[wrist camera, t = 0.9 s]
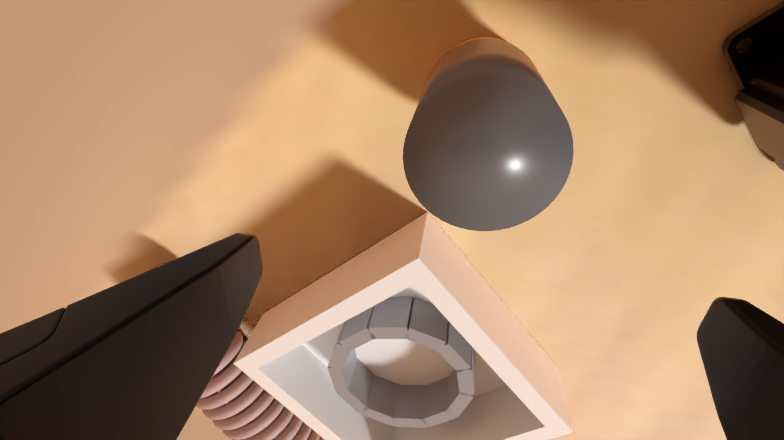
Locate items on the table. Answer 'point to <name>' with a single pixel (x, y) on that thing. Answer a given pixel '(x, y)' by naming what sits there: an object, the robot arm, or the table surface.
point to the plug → (487, 139)
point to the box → (406, 351)
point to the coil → (248, 405)
